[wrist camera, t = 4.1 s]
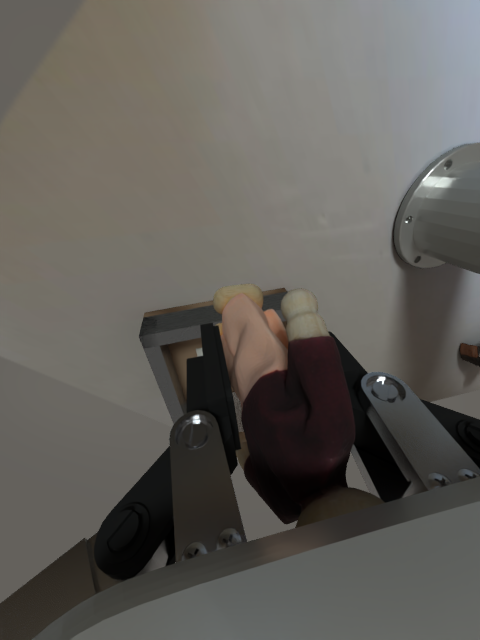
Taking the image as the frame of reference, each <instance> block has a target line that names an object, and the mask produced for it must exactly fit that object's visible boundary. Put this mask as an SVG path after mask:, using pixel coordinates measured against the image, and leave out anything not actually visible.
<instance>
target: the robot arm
mask: <svg viewBox="0 0 480 640" xmlns="http://www.w3.org/2000/svg"><path fill="white" fill-rule="evenodd" d="M394 243H395V247H396V251H397V253H398V254H399V256H400V258H401V259H403V260H404V261H405V262H406V263H408V264H410V265H413V266H415V267H419V268H433V267H438V266H440V265H443V264H446V263H449V264H452V265H455V266H458V267H461V268H464V269H466V270H469V271H472V272H475V273H478V274H480V143H471V144H464V145H461V146H458V147H456V148H453V149H451V150H450V151H448V152H446V153H444V154H443V155H441V156H440V157H439V158H437V159H436V160H435V161H434V162H432V163H431V164H430V165H429V166H428V167H427V168H426V169H425V170H424V171H423V172H422V173H421V174H420V176H419V177H418V178H417V179H416V181H415V182H414V183H413V185H412V186H411V188H410V189H409V191H408V193H407V194H406V196H405V198H404V200H403V202H402V204H401V207H400V209H399V212H398V215H397V219H396V222H395V229H394ZM200 329H201V341H202V352H203V356H198V357H193V358H188V359H187V363H186V365H187V413H186V414H184V415H183V416H181V417H180V418H179V419H178V420H177V421H176V422H175V424H174V425H173V427H172V429H171V431H170V438H169V440H170V446H169V447H168V448H167V449H166V451H165V452H164V453H163V454H162V455H161V456H160V457H159V458H158V459H157V461H156V462H155V463H154V464H153V465H152V466H151V467H150V469H149V470H148V471H147V472H146V473H145V474H144V475H143V476H142V477H141V479H140V480H139V481H138V482H137V483H136V484H135V485H134V486H133V487H132V489H131V490H130V491H129V492H128V493H127V494H126V495H125V496H124V497H123V499H122V500H121V501H120V502H119V503H118V504H117V505H116V506H115V507H114V509H113V510H112V511H111V512H110V513H109V515H108V516H107V517H106V519H105V520H104V521H103V523H102V525H101V527H100V529H99V531H98V532H97V533H96V534H94V535H93V536H92V537H91V538H89V539H88V540H87V539H85V538H83V539H82V540H81V541H80V542H78V543H77V544H76V545H75V546H73V547H72V548H71V549H70V550H68V551H67V552H66V553H64V554H63V555H62V556H60V557H59V558H58V559H57V560H55V561H54V562H53V563H51V564H50V565H49V566H48V567H46V568H45V569H44V570H42V571H41V572H40V573H39V574H38V575H36V576H35V577H34V578H32V579H31V580H30V581H28V582H27V583H26V584H25V585H23V586H22V587H21V588H19V589H18V590H17V591H15V592H14V593H13V594H12V595H11V596H9V597H8V598H7V599H5V600H4V601H3V602H1V603H0V640H480V420H479V419H476V418H473V417H470V416H467V415H464V414H461V413H459V412H456V411H453V410H450V409H447V408H444V407H441V406H438V405H436V404H432V403H430V402H427V401H424V400H421V399H419V398H418V397H417V396H416V395H415V394H414V392H413V391H412V390H411V389H410V388H409V387H408V385H406V384H405V383H404V382H403V381H402V380H401V379H399V378H397V377H396V376H393V375H391V374H388V373H383V372H372V373H367V372H366V371H365V369H364V368H363V367H362V366H361V365H360V364H359V363H358V361H357V360H356V359H355V358H354V357H353V356H352V355H351V354H350V352H349V351H348V350H347V349H346V348H345V347H344V346H343V345H342V343H341V342H340V341H339V340H338V339H337V338H336V337H335V335H334V334H333V333H331V332H328V333H329V335H330V336H331V337H333V338H334V340H335V342H336V345H337V347H338V350H339V354H340V358H341V364H342V367H343V371H344V376H345V379H346V382H347V386H348V390H349V394H350V399H351V404H352V410H353V415H354V421H355V441H354V444H353V446H352V449H351V453H352V455H353V458H354V460H355V462H356V464H357V466H358V468H359V470H360V473H361V475H362V477H363V479H364V481H365V483H366V486H367V488H368V490H369V492H370V493H371V494H373V495H375V496H377V497H378V498H380V499H381V500H383V501H384V502H385V503H383V504H379V505H376V506H372V507H369V508H365V509H361V510H358V511H354V512H351V513H347V514H344V515H340V516H337V517H333V518H329V519H326V520H322V521H319V522H315V523H312V524H308V525H305V526H301V527H298V528H294V529H291V530H287V531H284V532H280V533H277V534H273V535H270V536H266V537H263V538H259V539H256V540H252V541H249V542H247V539H246V535H245V531H244V527H243V523H242V519H241V515H240V511H239V507H238V503H237V499H236V495H235V491H234V487H233V483H232V479H231V474H232V473H233V471H234V469H235V468H236V466H237V464H238V463H237V456H236V450H240V449H241V444H240V438H239V432H238V425H237V419H236V413H235V406H234V400H233V395H232V389H231V384H230V379H229V375H228V370H227V365H226V360H225V355H224V350H223V345H222V340H221V335H220V330H219V326H218V325H216V326H213V323H208V324H202V325H200ZM175 562H176V563H175Z"/></svg>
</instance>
